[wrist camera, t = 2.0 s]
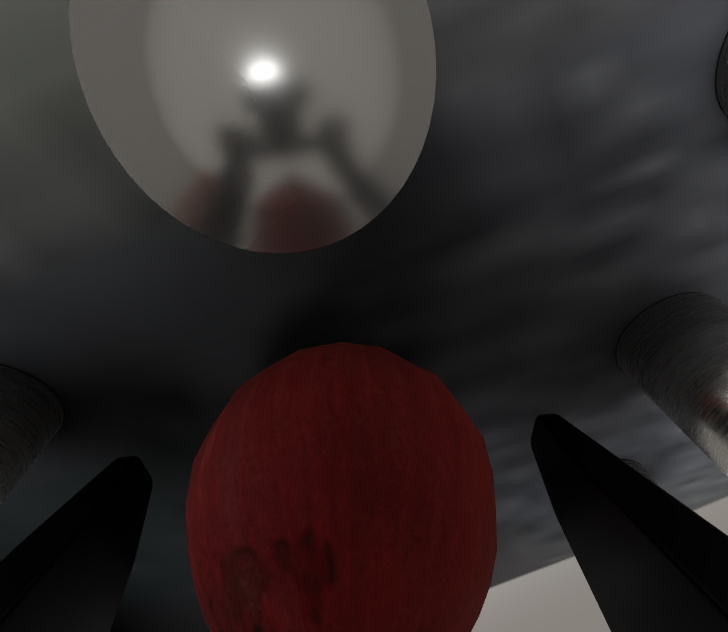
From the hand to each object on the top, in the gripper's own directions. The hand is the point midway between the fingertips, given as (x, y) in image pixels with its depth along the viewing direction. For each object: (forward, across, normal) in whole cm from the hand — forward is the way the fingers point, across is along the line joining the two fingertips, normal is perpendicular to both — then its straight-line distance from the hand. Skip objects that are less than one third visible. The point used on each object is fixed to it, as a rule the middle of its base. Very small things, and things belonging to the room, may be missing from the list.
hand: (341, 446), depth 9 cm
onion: (+3, 0, 0) cm, 3 cm away
